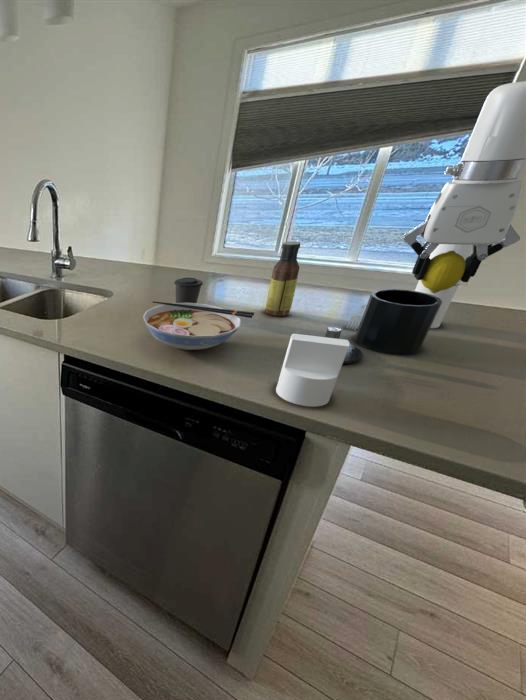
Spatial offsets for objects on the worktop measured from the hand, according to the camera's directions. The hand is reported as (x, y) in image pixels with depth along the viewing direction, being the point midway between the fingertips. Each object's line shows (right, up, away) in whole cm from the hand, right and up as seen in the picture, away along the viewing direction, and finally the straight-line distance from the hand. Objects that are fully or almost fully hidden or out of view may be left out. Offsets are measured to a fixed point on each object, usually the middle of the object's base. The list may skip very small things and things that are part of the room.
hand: (440, 278), depth 76 cm
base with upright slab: (-23, -22, +5) cm, 32 cm away
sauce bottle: (-5, 0, +41) cm, 41 cm away
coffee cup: (-28, +2, +48) cm, 56 cm away
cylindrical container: (+24, -4, +28) cm, 37 cm away
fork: (+14, -2, +34) cm, 36 cm away
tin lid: (-8, -12, +18) cm, 23 cm away
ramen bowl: (-36, -10, +28) cm, 47 cm away
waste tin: (+8, -11, +20) cm, 24 cm away
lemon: (0, -3, +2) cm, 3 cm away
